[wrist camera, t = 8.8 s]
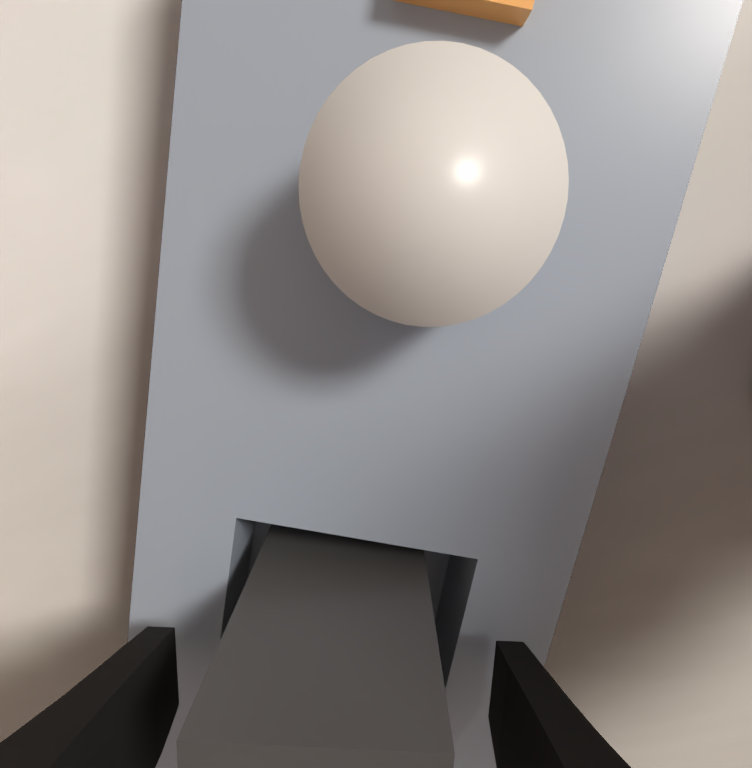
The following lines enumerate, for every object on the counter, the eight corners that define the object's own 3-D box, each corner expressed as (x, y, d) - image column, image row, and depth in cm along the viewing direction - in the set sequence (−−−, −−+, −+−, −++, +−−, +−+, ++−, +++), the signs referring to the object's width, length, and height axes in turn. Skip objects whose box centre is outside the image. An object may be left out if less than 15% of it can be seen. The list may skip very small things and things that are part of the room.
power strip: (672, 1, 12) (920, -232, 6) (466, 757, 16) (508, 994, 11) (247, -86, 11) (125, -409, 6) (162, 709, 16) (51, 927, 11)
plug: (419, 519, 14) (454, 754, 7) (410, 643, 15) (434, 957, 8) (276, 512, 14) (176, 740, 7) (276, 636, 15) (186, 944, 8)
